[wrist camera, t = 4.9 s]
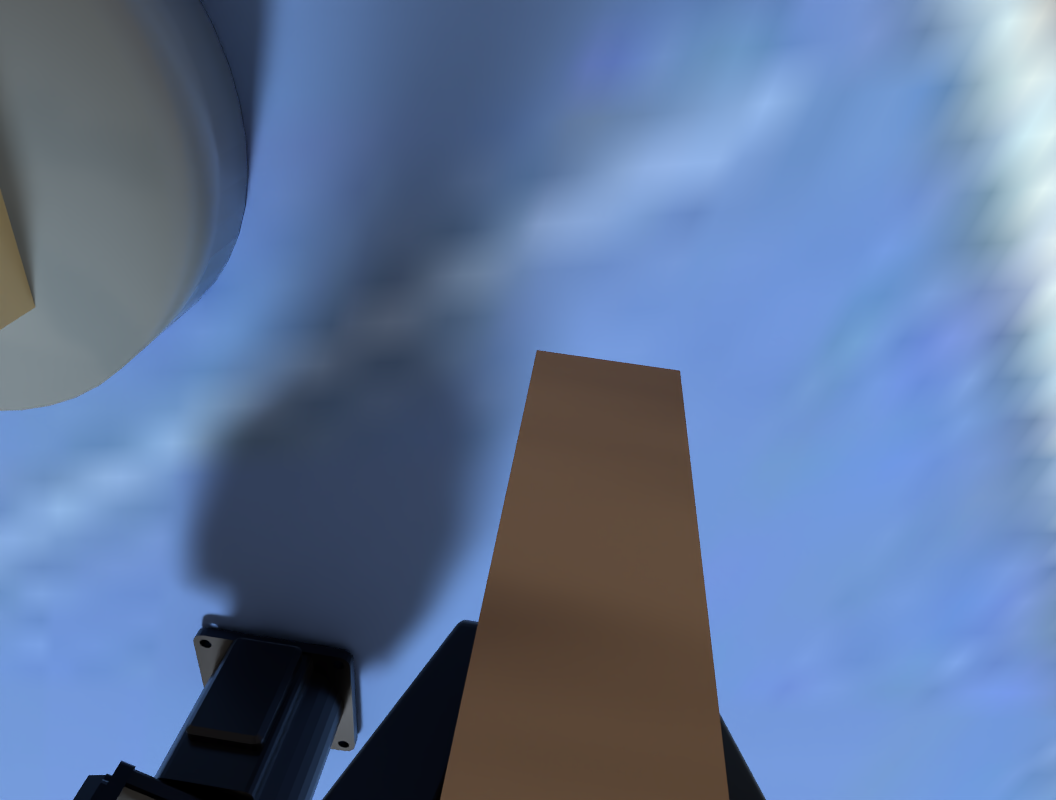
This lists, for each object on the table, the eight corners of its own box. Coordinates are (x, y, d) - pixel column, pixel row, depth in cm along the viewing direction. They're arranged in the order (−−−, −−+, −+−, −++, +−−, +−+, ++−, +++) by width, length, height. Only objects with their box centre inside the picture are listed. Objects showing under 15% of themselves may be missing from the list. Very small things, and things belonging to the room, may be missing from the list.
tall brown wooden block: (619, 613, 13) (608, 1564, 5) (507, 596, 13) (342, 1507, 6) (679, 371, 10) (821, 1600, 3) (537, 349, 10) (290, 1489, 3)
